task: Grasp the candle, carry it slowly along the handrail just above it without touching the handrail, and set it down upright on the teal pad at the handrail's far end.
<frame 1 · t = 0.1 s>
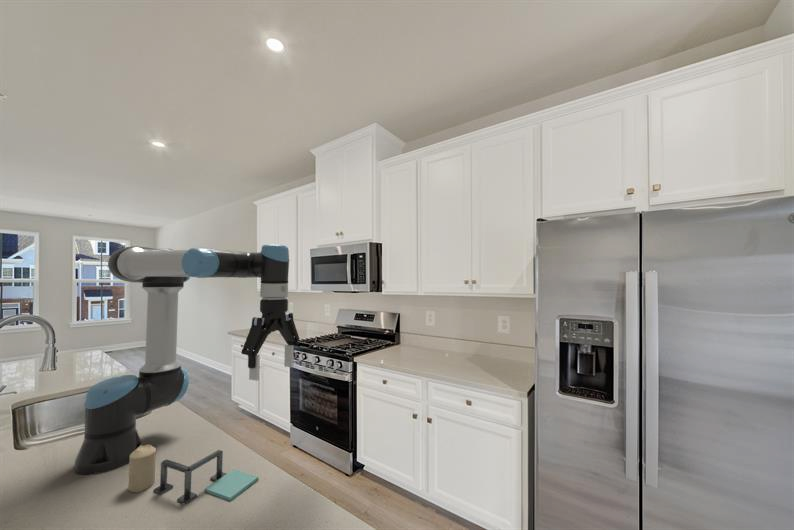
hand: (272, 372, 92), 28 cm above the counter, fingers open, 13 cm apart
handrail: (163, 489, 83), on the counter
pad: (232, 485, 85), on the counter
candle: (141, 486, 85), on the counter
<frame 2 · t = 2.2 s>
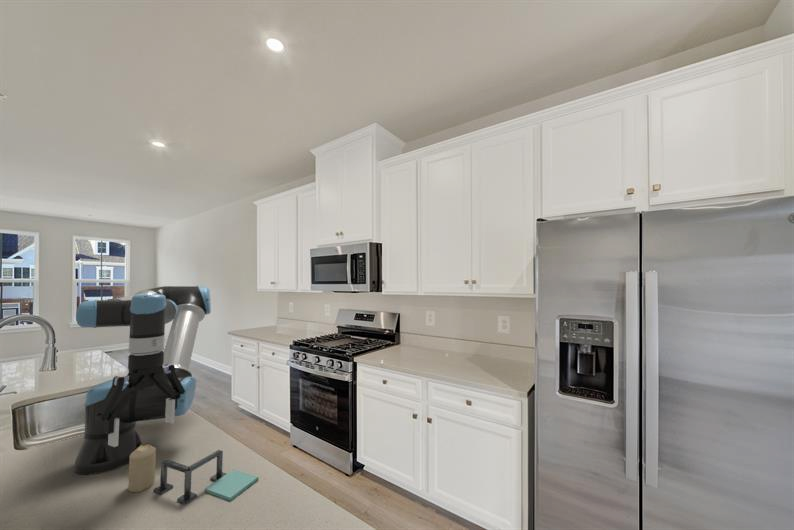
hand: (143, 433, 85), 14 cm above the counter, fingers open, 13 cm apart
nothing on the counter moved.
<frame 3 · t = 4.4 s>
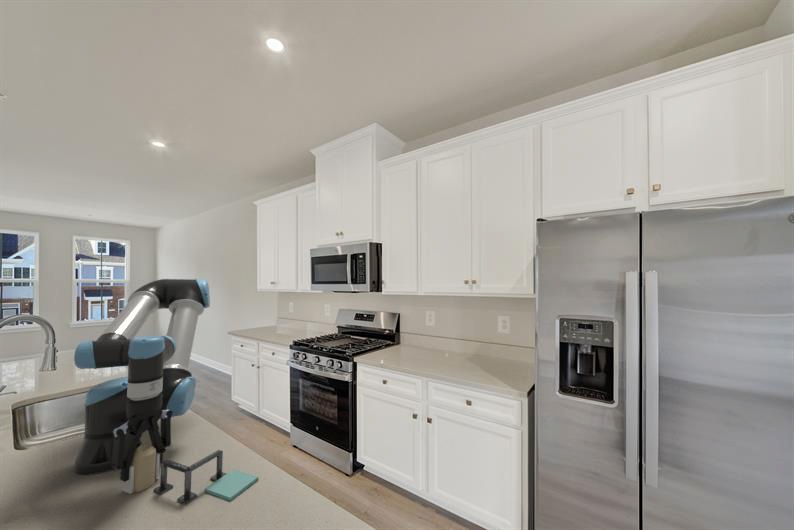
hand: (141, 484, 85), 0 cm above the counter, fingers closed on candle, 5 cm apart
candle: (141, 486, 85), on the counter, touching gripper
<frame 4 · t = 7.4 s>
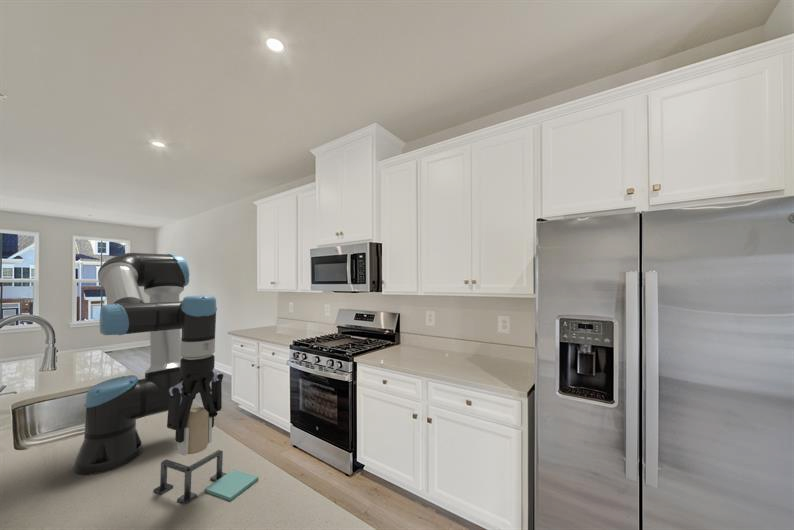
hand: (195, 447, 82), 12 cm above the counter, fingers closed on candle, 5 cm apart
candle: (195, 449, 82), point 11 cm above the counter, touching gripper
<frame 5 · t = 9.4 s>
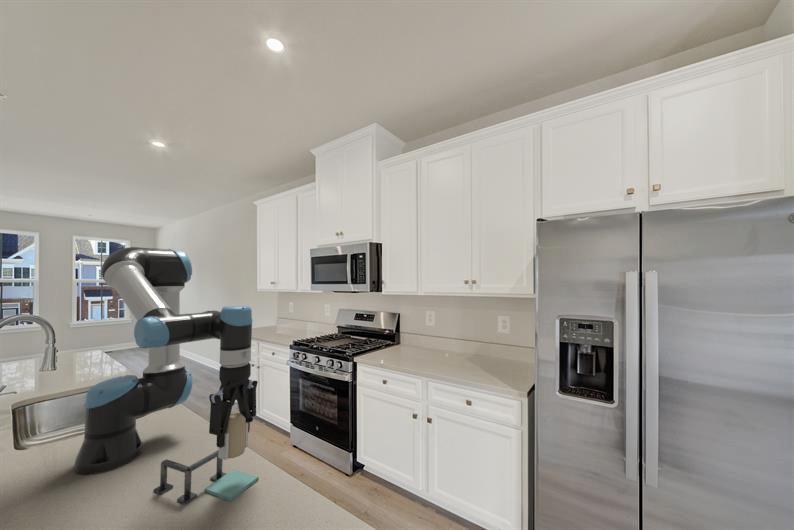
hand: (233, 451, 86), 9 cm above the counter, fingers closed on candle, 5 cm apart
candle: (233, 453, 86), point 8 cm above the counter, touching gripper
when the fingers open (3 cm above the counter, at t = 10.7 s): candle drops 2 cm, resting on pad.
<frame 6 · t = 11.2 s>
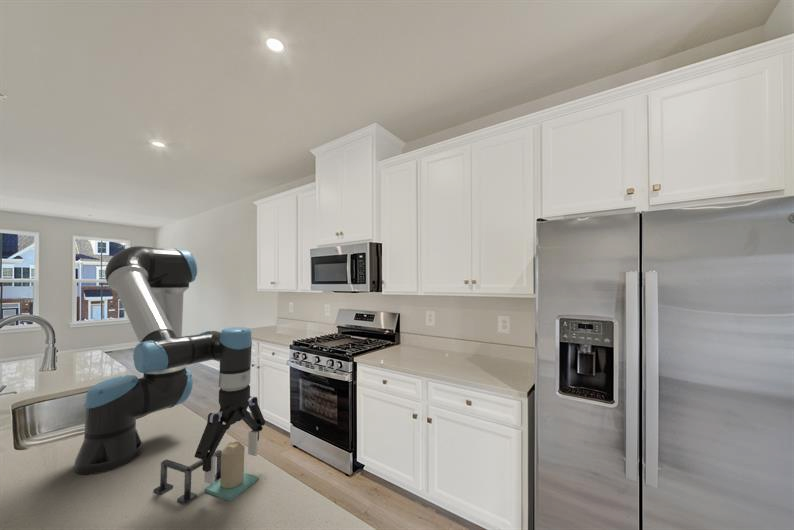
hand: (232, 467, 86), 5 cm above the counter, fingers open, 13 cm apart
candle: (232, 483, 85), point 1 cm above the counter, touching pad
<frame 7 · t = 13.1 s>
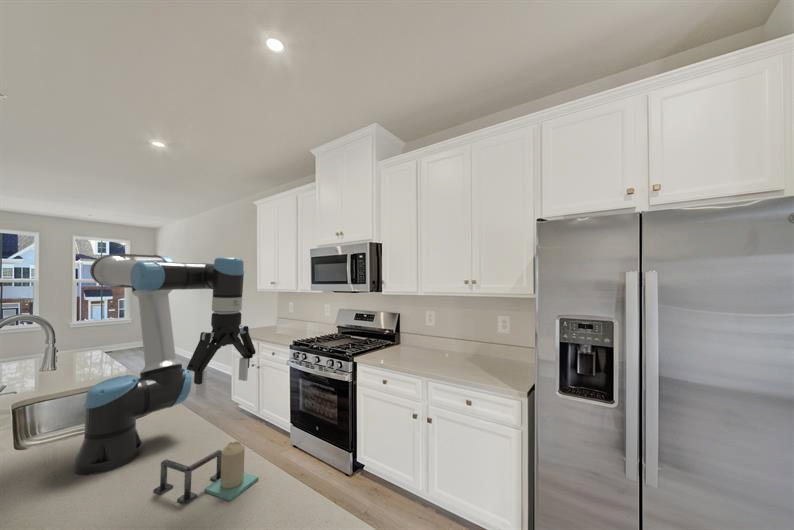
hand: (223, 387, 91), 24 cm above the counter, fingers open, 13 cm apart
nothing on the counter moved.
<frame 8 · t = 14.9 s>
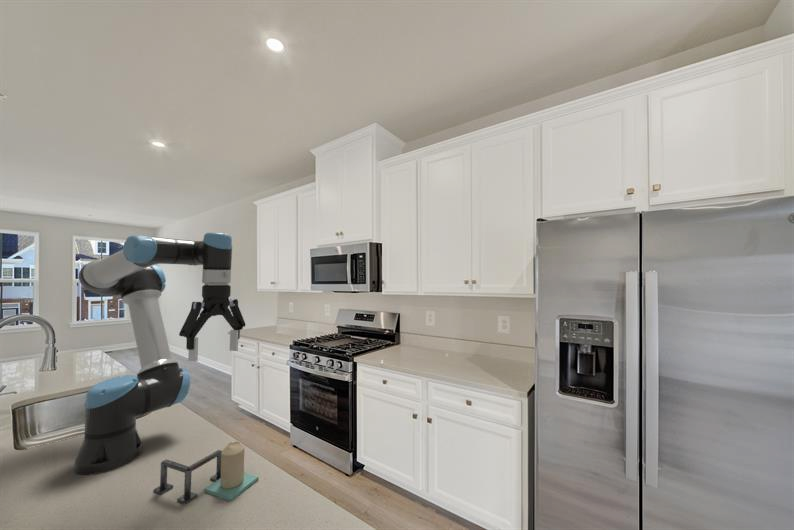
hand: (214, 355, 96), 32 cm above the counter, fingers open, 13 cm apart
nothing on the counter moved.
at the end: candle 0.1 cm from the pad (horizontally); candle tilted 0°; candle touching pad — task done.
